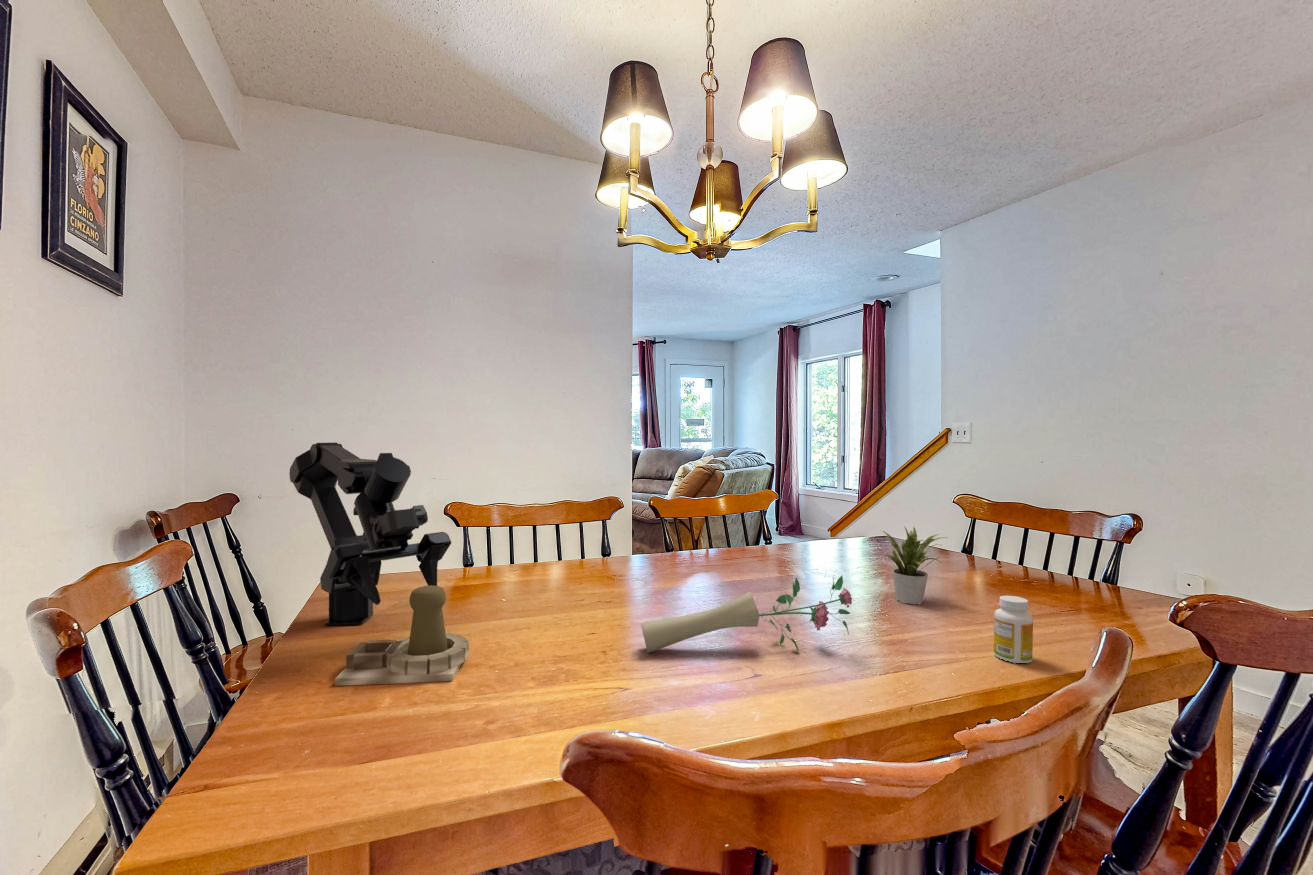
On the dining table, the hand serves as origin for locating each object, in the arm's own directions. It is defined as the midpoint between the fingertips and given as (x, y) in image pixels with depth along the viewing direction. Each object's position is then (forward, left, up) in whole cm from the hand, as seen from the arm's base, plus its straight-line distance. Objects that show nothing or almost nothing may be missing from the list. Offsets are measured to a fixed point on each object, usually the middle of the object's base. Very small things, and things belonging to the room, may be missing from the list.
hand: (407, 597), depth 93 cm
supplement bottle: (+97, -11, -9) cm, 98 cm away
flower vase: (+55, -3, -9) cm, 56 cm away
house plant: (+98, +19, -9) cm, 101 cm away
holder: (+2, -5, -9) cm, 11 cm away
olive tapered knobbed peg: (+4, -5, -8) cm, 11 cm away
